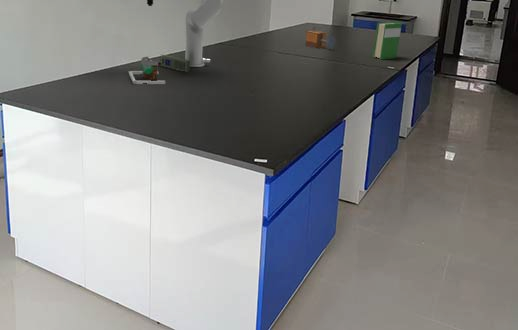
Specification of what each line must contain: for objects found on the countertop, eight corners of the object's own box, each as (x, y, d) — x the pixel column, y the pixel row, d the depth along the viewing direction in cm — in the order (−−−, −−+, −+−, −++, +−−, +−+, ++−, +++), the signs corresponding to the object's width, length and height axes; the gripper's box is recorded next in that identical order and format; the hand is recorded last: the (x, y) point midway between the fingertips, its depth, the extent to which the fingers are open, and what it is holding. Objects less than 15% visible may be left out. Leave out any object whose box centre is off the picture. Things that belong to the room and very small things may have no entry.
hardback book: (380, 59, 391) (386, 24, 383) (372, 57, 396) (377, 22, 388) (396, 58, 402) (401, 23, 394) (387, 56, 407) (393, 22, 399)
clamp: (326, 50, 410) (328, 30, 405) (305, 46, 423) (307, 26, 417) (335, 49, 418) (337, 29, 412) (314, 45, 430) (316, 25, 425)
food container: (136, 76, 288) (136, 56, 285) (147, 75, 292) (148, 56, 288) (146, 81, 279) (146, 61, 275) (158, 81, 282) (158, 61, 279)
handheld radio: (186, 73, 306) (152, 65, 318) (190, 72, 308) (156, 64, 321) (187, 60, 304) (152, 53, 316) (191, 60, 306) (157, 52, 319)
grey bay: (158, 74, 297) (158, 71, 296) (165, 84, 277) (165, 81, 277) (128, 73, 292) (128, 71, 291) (133, 84, 272) (133, 81, 272)
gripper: (163, -30, 305) (162, 5, 312) (135, -32, 300) (135, 4, 307) (165, -29, 298) (165, 7, 305) (136, -31, 294) (136, 6, 300)
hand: (150, 5), depth 306 cm, fingers closed
